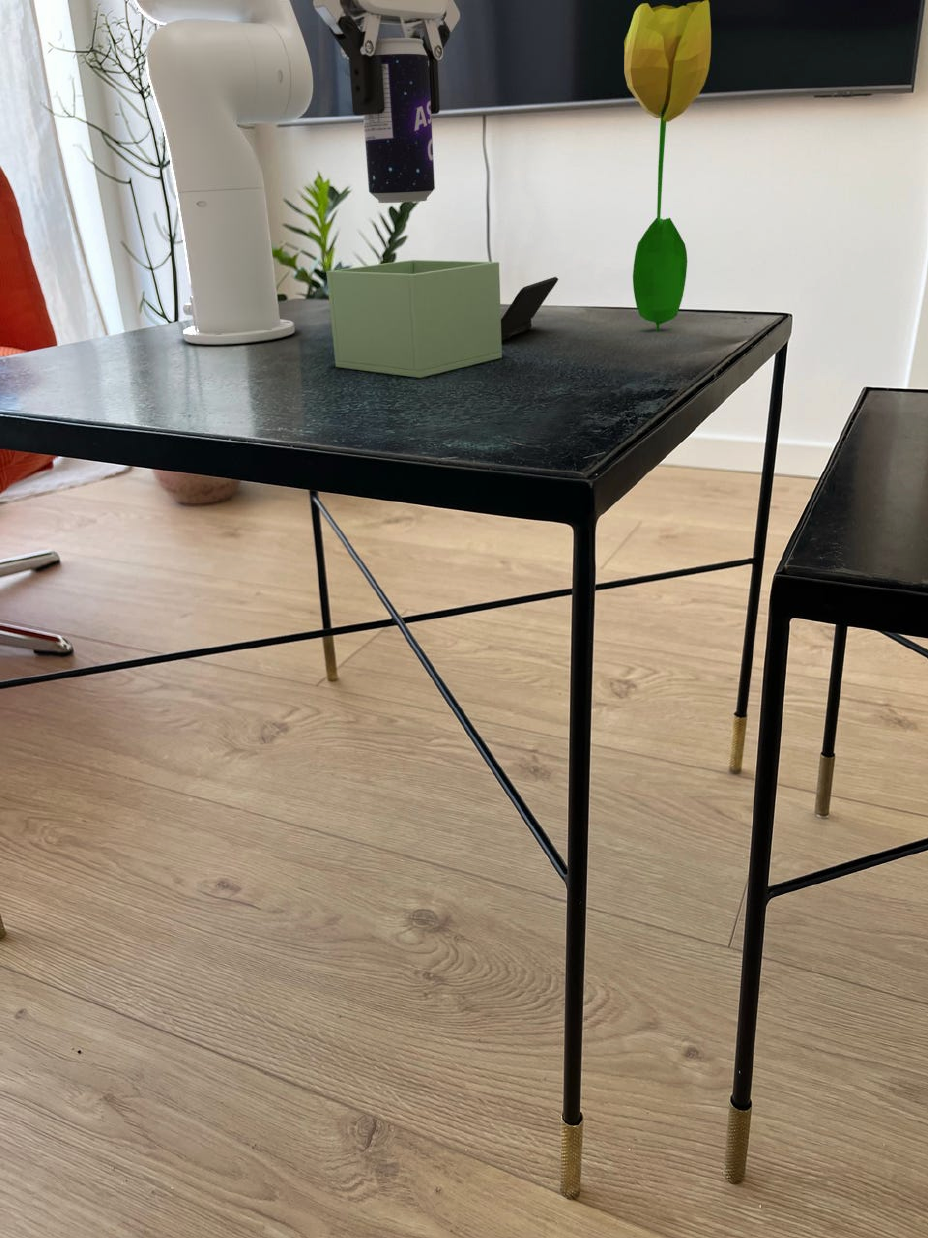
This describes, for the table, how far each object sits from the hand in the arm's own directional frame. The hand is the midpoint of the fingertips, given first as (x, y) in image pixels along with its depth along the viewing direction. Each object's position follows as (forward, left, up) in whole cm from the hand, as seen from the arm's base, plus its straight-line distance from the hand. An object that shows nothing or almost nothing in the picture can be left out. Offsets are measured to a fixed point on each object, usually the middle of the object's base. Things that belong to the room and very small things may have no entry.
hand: (397, 111), depth 82 cm
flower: (+9, +28, -21) cm, 36 cm away
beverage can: (0, 0, -7) cm, 7 cm away
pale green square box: (-1, +2, -21) cm, 21 cm away
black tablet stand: (-5, +18, -21) cm, 28 cm away
